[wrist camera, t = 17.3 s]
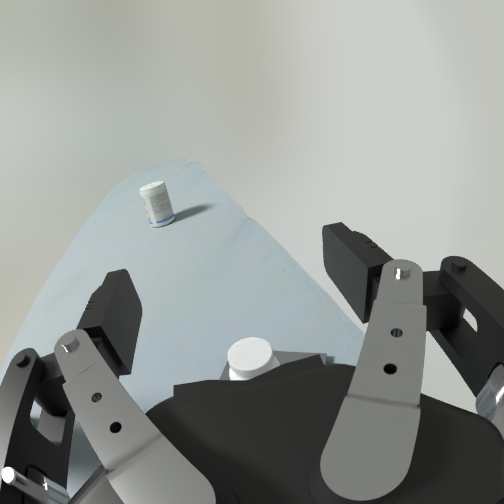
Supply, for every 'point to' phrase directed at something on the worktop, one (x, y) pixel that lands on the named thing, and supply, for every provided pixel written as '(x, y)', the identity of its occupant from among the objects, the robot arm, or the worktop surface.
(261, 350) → the pill bottle
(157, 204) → the supplement tub
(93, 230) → the worktop surface
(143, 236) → the worktop surface
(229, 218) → the worktop surface
